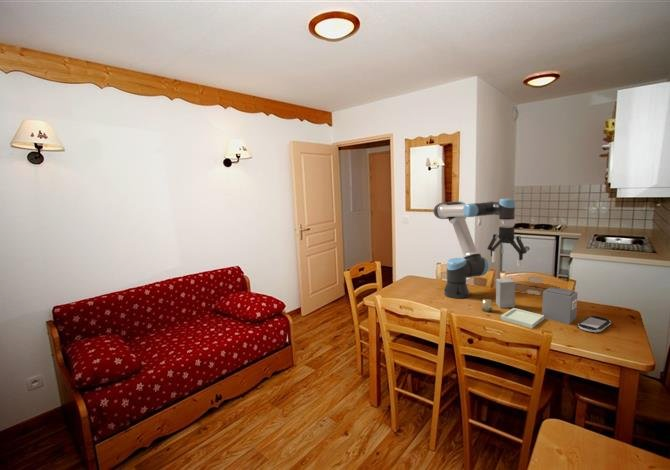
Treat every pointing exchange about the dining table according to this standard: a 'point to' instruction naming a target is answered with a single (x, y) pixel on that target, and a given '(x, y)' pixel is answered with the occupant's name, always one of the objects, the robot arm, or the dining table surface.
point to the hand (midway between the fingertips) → (506, 263)
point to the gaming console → (594, 324)
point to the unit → (559, 305)
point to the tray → (522, 317)
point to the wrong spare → (486, 305)
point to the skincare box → (505, 293)
